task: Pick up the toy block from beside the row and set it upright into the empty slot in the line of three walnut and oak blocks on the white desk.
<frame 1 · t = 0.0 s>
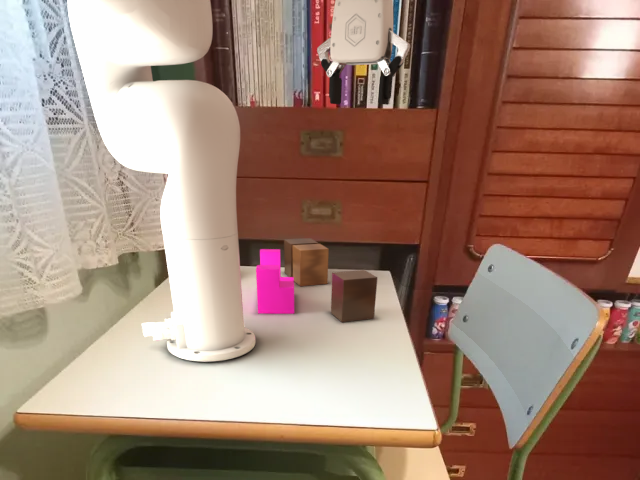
hand: (358, 104, 87), 31 cm above the table, tool pointing down, fingers open, 9 cm apart
toy block: (277, 301, 89), on the table
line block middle: (310, 281, 100), on the table
line block 2: (352, 315, 83), on the table
line block 1: (300, 274, 105), on the table
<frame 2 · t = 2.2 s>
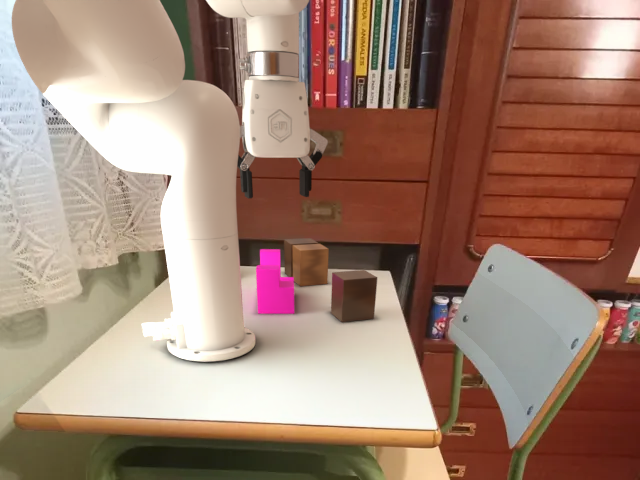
hand: (277, 196, 81), 17 cm above the table, tool pointing down, fingers open, 9 cm apart
nothing on the table moved.
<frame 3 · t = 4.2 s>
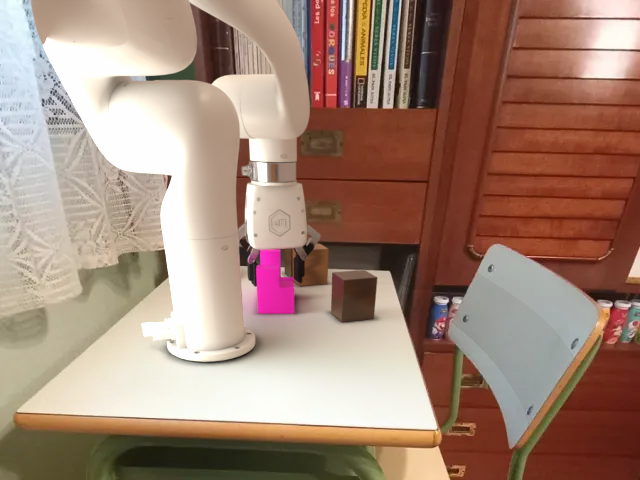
hand: (276, 282, 88), 3 cm above the table, tool pointing down, fingers closed on toy block, 7 cm apart
toy block: (277, 301, 89), on the table, touching gripper
everything else where it was.
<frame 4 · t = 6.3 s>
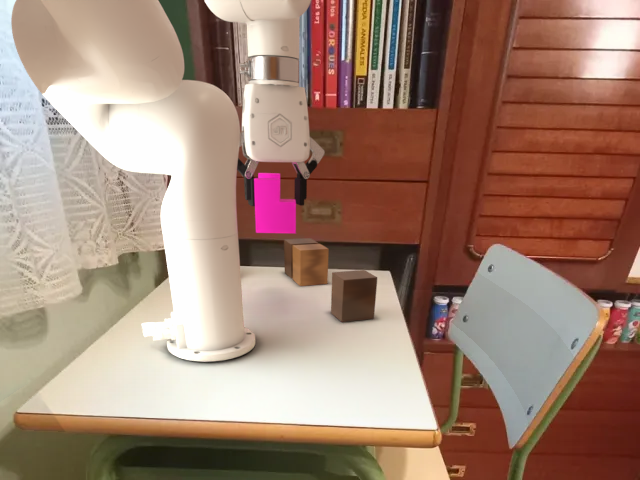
hand: (276, 204, 80), 16 cm above the table, tool pointing down, fingers closed on toy block, 7 cm apart
toy block: (276, 226, 82), point 13 cm above the table, touching gripper
everything else where it was.
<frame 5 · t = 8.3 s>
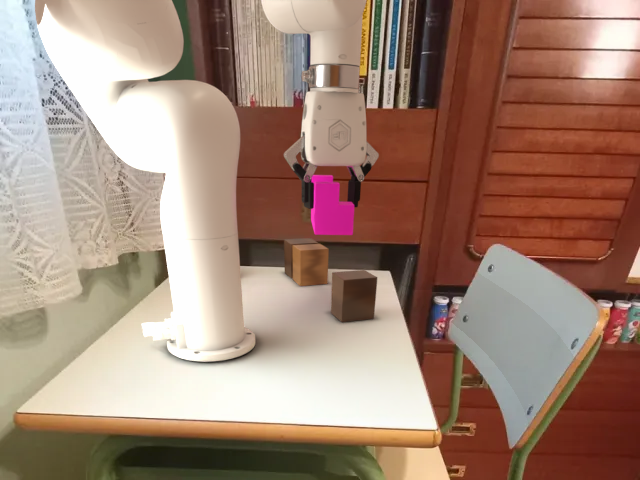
hand: (330, 206, 83), 16 cm above the table, tool pointing down, fingers closed on toy block, 7 cm apart
toy block: (330, 227, 85), point 12 cm above the table, touching gripper
everything else where it was.
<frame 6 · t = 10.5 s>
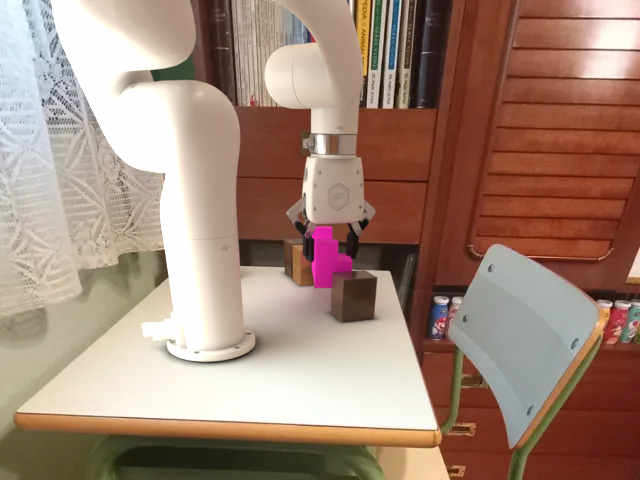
hand: (330, 258, 88), 7 cm above the table, tool pointing down, fingers closed on toy block, 7 cm apart
toy block: (329, 277, 90), point 4 cm above the table, touching gripper
everything else where it was.
when the fingers open (3 cm above the table, at t = 12.3 s): toy block stays where it is, on the table.
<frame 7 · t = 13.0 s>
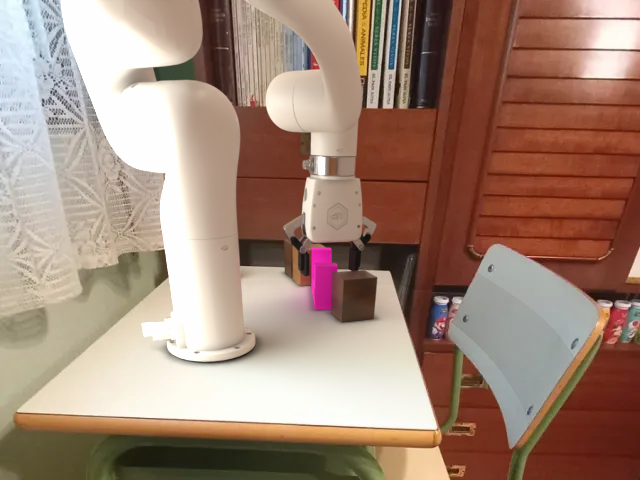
hand: (329, 272, 89), 5 cm above the table, tool pointing down, fingers open, 9 cm apart
toy block: (329, 298, 92), on the table
everything else where it was.
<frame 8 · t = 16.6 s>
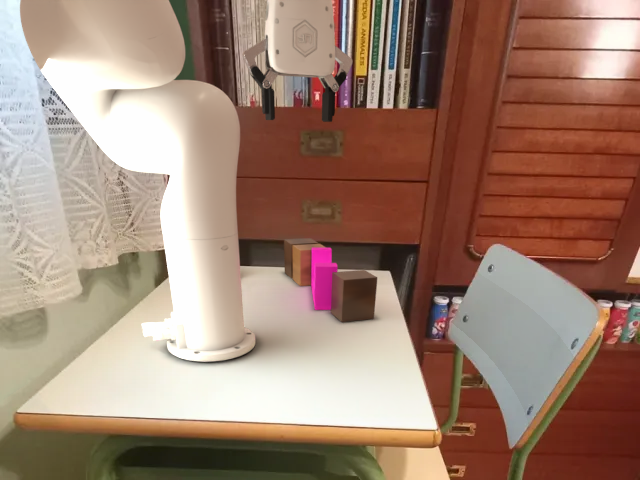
hand: (299, 120, 77), 28 cm above the table, tool pointing down, fingers open, 9 cm apart
nothing on the table moved.
at the end: toy block 0.1 cm from the target spot, on the table; toy block tilted 0°; the gripper is holding nothing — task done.
